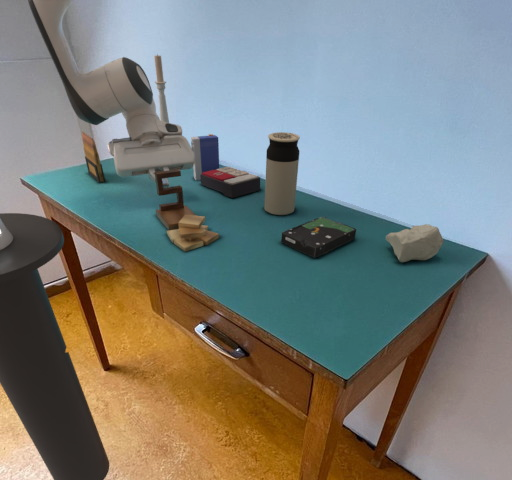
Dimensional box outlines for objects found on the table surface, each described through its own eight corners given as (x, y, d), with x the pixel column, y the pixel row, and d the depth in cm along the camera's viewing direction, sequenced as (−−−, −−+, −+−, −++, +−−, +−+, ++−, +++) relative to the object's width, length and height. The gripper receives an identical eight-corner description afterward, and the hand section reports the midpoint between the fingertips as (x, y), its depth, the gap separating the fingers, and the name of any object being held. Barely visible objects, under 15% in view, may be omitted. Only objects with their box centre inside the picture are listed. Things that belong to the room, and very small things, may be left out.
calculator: (228, 165, 123) (261, 174, 114) (228, 179, 125) (261, 189, 116) (199, 171, 117) (231, 182, 108) (200, 186, 119) (232, 198, 111)
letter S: (168, 230, 94) (163, 185, 87) (156, 215, 101) (150, 172, 94) (200, 225, 97) (197, 180, 90) (186, 210, 104) (182, 168, 97)
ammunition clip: (88, 173, 125) (78, 131, 117) (94, 172, 125) (84, 130, 118) (99, 183, 118) (89, 139, 110) (105, 182, 119) (96, 138, 111)
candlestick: (193, 157, 141) (186, 53, 122) (175, 167, 132) (164, 56, 112) (162, 152, 144) (150, 51, 125) (142, 162, 135) (126, 53, 116)
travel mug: (268, 216, 102) (271, 140, 90) (261, 205, 108) (263, 132, 96) (297, 215, 103) (305, 139, 92) (289, 203, 109) (295, 131, 98)
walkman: (216, 175, 126) (214, 133, 119) (219, 177, 125) (218, 135, 117) (193, 177, 124) (189, 135, 116) (195, 180, 122) (192, 137, 114)
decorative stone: (409, 232, 93) (442, 208, 84) (422, 268, 91) (457, 247, 82) (372, 235, 89) (402, 210, 80) (386, 273, 87) (418, 251, 78)
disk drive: (315, 260, 85) (355, 239, 93) (316, 248, 83) (357, 228, 91) (280, 243, 90) (320, 225, 98) (280, 232, 89) (322, 214, 97)
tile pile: (185, 252, 86) (183, 235, 83) (161, 235, 92) (159, 218, 89) (224, 239, 91) (223, 223, 88) (199, 224, 97) (198, 208, 95)
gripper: (105, 131, 95) (122, 186, 94) (186, 125, 102) (202, 175, 102) (105, 147, 101) (121, 198, 100) (182, 140, 108) (197, 187, 108)
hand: (163, 187), depth 101 cm, fingers closed
